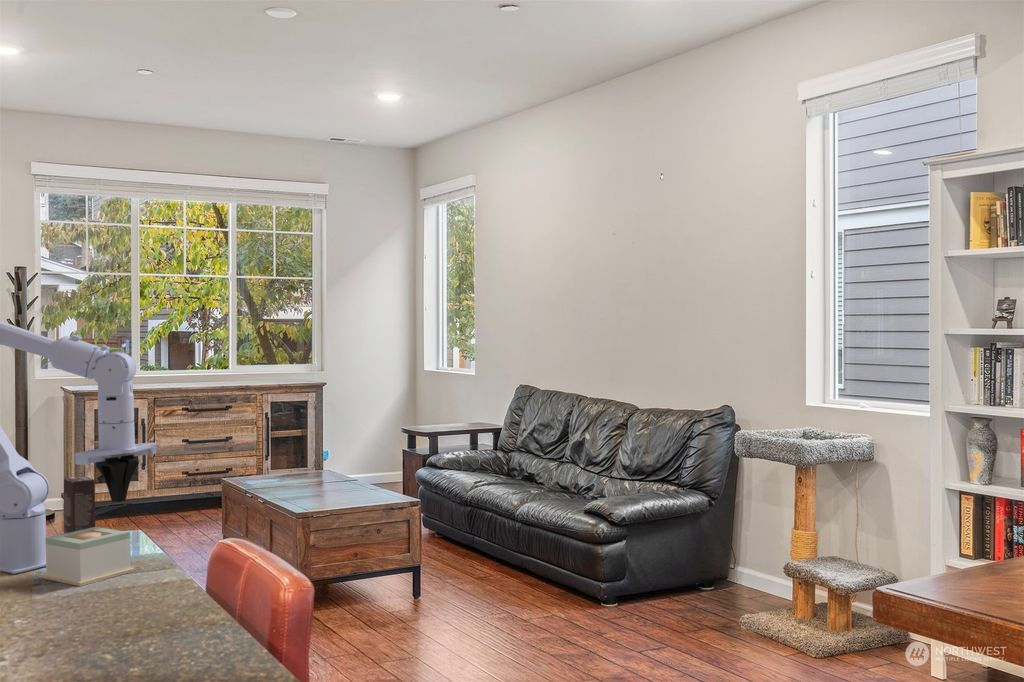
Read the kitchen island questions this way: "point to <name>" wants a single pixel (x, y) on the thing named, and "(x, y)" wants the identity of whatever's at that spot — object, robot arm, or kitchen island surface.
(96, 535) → the peg
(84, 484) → the box
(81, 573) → the socket
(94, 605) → the kitchen island surface
